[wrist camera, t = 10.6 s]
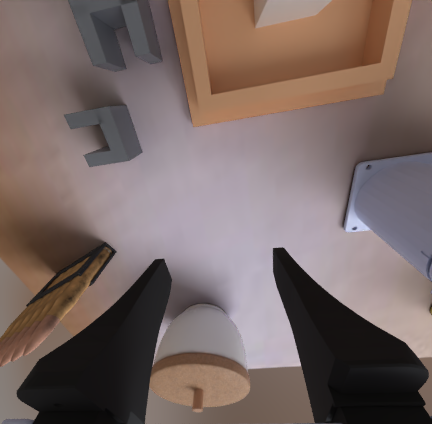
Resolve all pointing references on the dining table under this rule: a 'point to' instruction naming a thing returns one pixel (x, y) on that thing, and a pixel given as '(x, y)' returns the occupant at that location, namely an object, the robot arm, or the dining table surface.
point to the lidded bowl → (201, 360)
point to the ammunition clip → (52, 304)
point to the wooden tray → (283, 56)
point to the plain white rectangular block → (285, 10)
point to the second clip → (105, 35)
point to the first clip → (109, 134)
